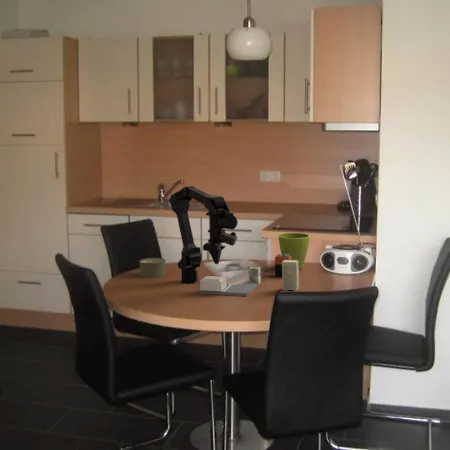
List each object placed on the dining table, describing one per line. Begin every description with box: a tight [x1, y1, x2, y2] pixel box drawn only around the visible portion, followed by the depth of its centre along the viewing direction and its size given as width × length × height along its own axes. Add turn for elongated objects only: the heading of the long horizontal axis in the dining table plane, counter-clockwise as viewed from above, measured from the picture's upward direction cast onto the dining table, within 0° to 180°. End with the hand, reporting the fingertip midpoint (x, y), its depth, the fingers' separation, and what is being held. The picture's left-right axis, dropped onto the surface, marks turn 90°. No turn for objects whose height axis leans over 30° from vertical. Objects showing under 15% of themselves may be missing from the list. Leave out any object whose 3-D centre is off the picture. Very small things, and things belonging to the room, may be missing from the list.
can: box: [138, 257, 166, 279], centre depth 310 cm, size 12×12×7 cm
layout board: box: [199, 282, 258, 297], centre depth 280 cm, size 20×17×1 cm
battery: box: [274, 253, 292, 278], centre depth 303 cm, size 4×7×10 cm, turn 68°
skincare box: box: [281, 260, 300, 292], centre depth 278 cm, size 6×4×12 cm
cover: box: [199, 275, 227, 291], centre depth 276 cm, size 9×7×5 cm
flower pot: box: [277, 232, 311, 271], centre depth 318 cm, size 15×15×16 cm
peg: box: [248, 266, 262, 286], centre depth 290 cm, size 4×4×7 cm
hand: (216, 263), depth 280 cm, fingers closed
